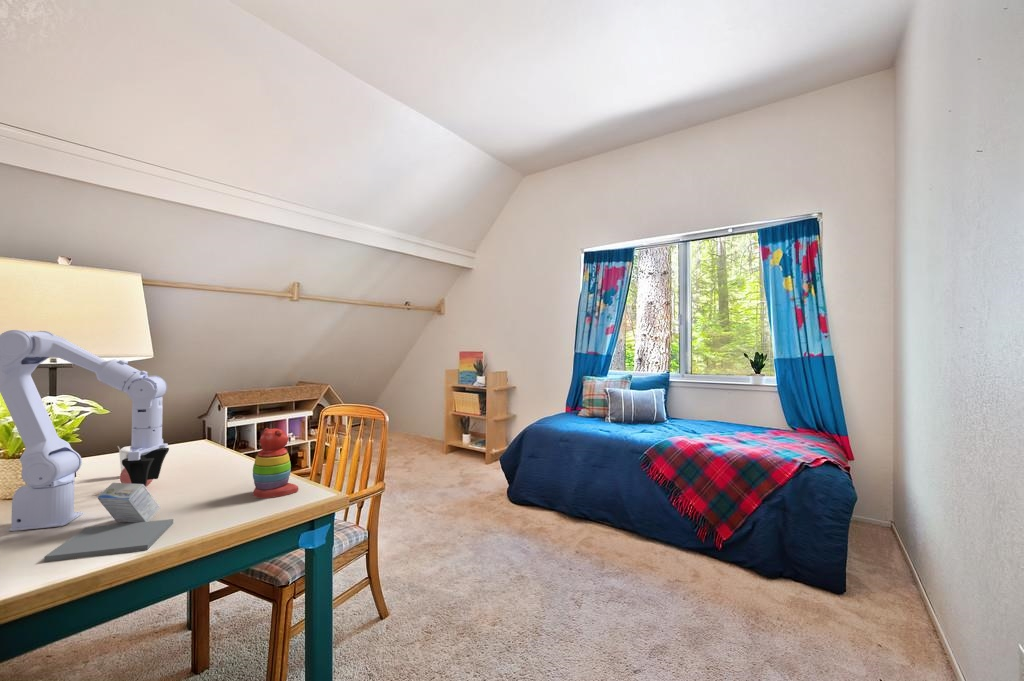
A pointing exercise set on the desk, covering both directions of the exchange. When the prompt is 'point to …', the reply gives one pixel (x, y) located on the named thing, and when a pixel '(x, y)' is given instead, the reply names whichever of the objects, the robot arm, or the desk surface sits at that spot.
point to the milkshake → (123, 455)
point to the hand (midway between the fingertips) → (146, 483)
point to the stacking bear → (272, 466)
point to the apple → (126, 479)
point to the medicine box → (129, 502)
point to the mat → (110, 540)
